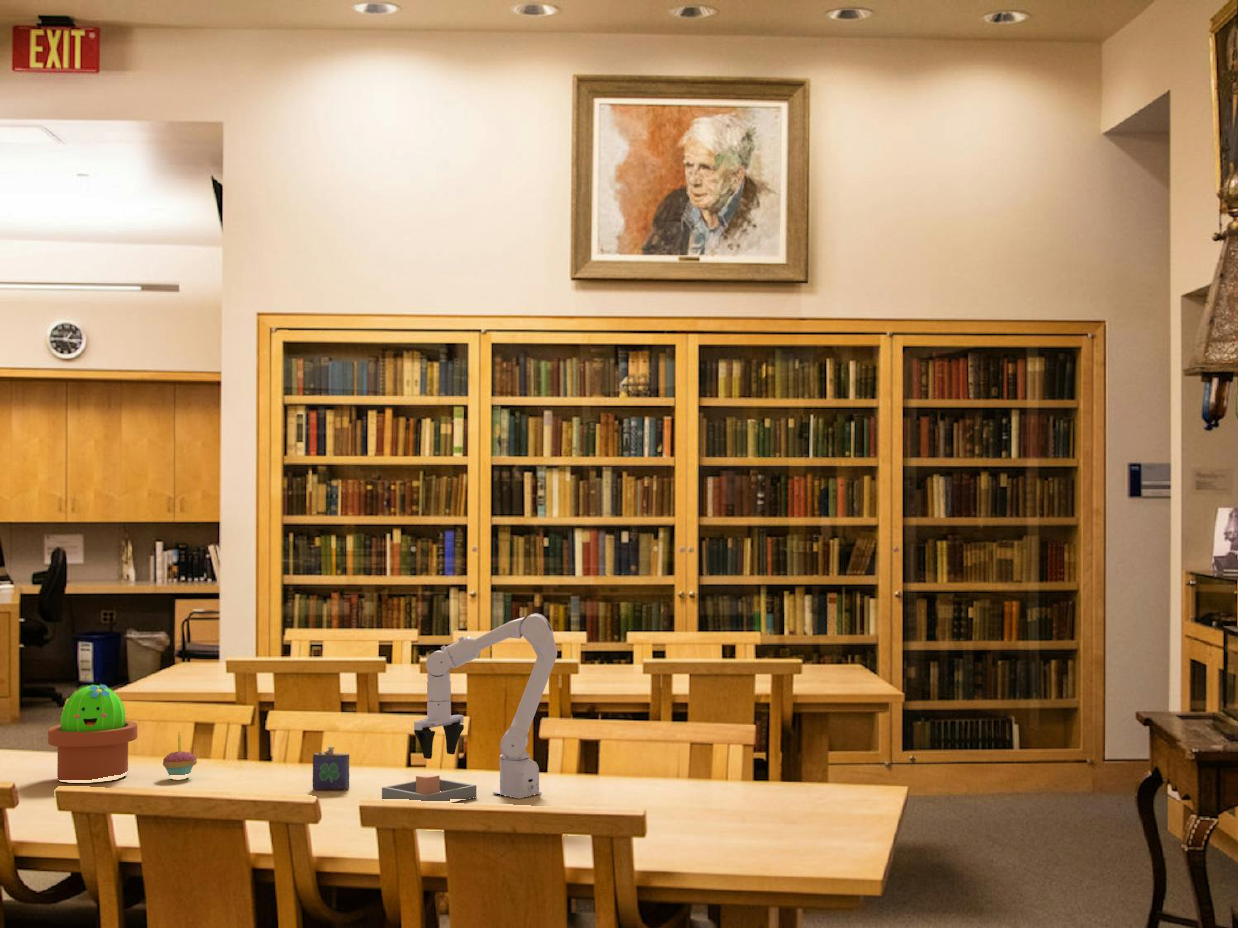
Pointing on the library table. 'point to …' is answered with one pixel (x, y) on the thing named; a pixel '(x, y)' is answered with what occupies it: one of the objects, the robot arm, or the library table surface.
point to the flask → (330, 771)
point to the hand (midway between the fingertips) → (439, 756)
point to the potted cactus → (92, 735)
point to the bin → (447, 792)
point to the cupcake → (179, 761)
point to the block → (427, 784)
